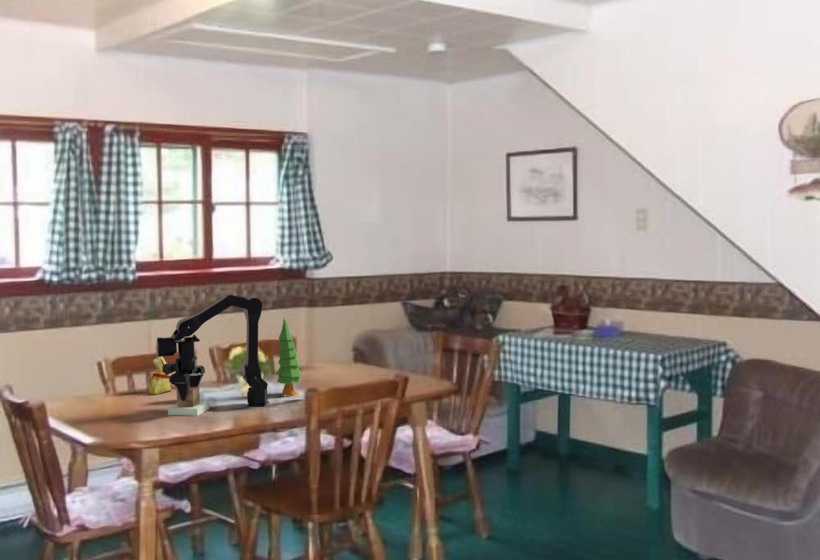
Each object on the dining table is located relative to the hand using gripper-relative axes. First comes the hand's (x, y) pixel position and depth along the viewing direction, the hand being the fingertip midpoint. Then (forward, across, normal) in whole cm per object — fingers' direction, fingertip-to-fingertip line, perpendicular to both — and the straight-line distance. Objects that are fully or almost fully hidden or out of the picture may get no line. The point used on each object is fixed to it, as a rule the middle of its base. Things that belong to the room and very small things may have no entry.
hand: (188, 397), depth 346 cm
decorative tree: (+5, -31, +28) cm, 42 cm away
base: (+6, 0, 0) cm, 6 cm away
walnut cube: (+3, 0, 0) cm, 3 cm away
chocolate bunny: (+5, -31, -25) cm, 40 cm away
